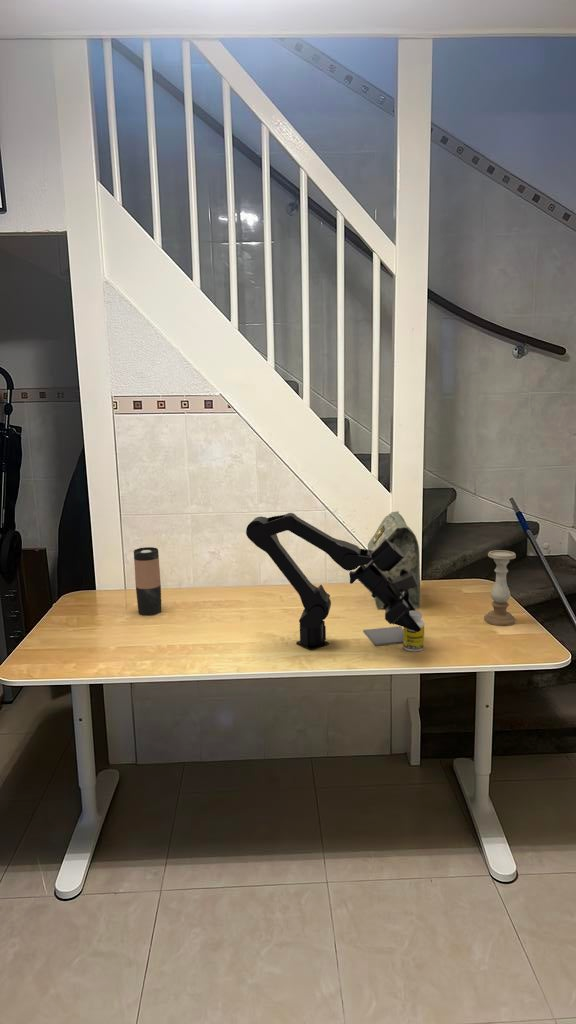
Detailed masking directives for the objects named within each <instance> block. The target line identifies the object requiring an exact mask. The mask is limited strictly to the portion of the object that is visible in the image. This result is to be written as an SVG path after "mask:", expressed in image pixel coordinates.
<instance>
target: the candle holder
mask: <svg viewBox="0 0 576 1024" xmlns="http://www.w3.org/2000/svg"><path fill="white" fill-rule="evenodd" d="M487 556H488V557H489V558H490V559H493V562H494V563H495V565H496V567H495V569H494V570H493V571H494V572H495V583H494V585H493V587H492V589H491V591H490V597H491V600H493V601H492V602H491V606H492V607H493V610H490V611H488V612H487V613H486V614H485V615H484V616H483V620H484V622H485V623H487V624H490V625H494V626H498V627H499V626H502V627H504V626H505V627H507V626H512V625H514V624H515V623H516V622H517V621H516V620H517V619H516V617H515V616H513V614H512V613H511V612H509V611H508V610H507V609H508V607H509V605H510V604H509V603H508V602H509V600H510V598H511V592H510V589H509V587H508V584H507V574H508V573H509V570H508V568H507V566H508V564H509V563H510V560H514V559H516V556H517V555H516V553H515V552H514V551H510V550H505V549H504V550H503V549H502V550H500V549H499V550H498V549H497V550H495V549H494V550H490V551H489V552H488V553H487Z"/></svg>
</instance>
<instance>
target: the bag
mask: <svg viewBox="0 0 576 1024" xmlns="http://www.w3.org/2000/svg"><path fill="white" fill-rule="evenodd" d="M384 539H387V540H388V541H389V542H391V543H392V544H394V545H396V546H397V547H398V548H399V549H400V550H401V551H402V553H403V554H404V556H405V557H404V558H403V559H402V560H401V561H400V562H399V563H398V564H397V565H396V566H395V567H393V568H392V569H391V570H390V571H389V572H388V571H385V572H383V571H381V570H380V569H379V568H378V567H377V566H376V565H375V564H374V563H373V565H374V566H375V567H376V568H378V569H379V570H380V571H381V572H382V573H383V574H384V575H385V576H386V577H387V576H388V577H389V576H390V577H391V578H392V579H395V578H397V576H400V570H401V569H404V568H405V569H407V570H408V571H409V572H410V571H412V572H413V573H414V576H415V578H416V580H417V584H418V585H417V586H416V587H415V588H410V589H408V590H409V600H410V602H411V603H412V605H413V606H414V608H415V609H418V608H420V607H421V572H420V571H421V569H420V546H419V542H418V539H417V535H416V534H415V533H414V532H413V530H412V528H410V527H409V526H408V525H407V522H406V521H405V519H404V517H403V516H402V515H401V514H400V513H399V511H398V510H397V511H391V512H390V513H388V515H386V516H385V517H384V518H383V520H382V521H381V523H380V524H379V526H378V528H377V529H376V531H375V533H374V535H373V536H371V539H370V540H369V541H368V544H367V550H372V551H374V550H375V549H376V548H377V547H378V546H379V545H380V544H381V543H382V541H383V540H384ZM403 592H404V593H405V592H406V591H403ZM374 601H375V606H376V608H377V609H384V608H383V604H382V603H381V602H380V601H379V600H378V599H377V598H376V597H375V598H374Z"/></svg>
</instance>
